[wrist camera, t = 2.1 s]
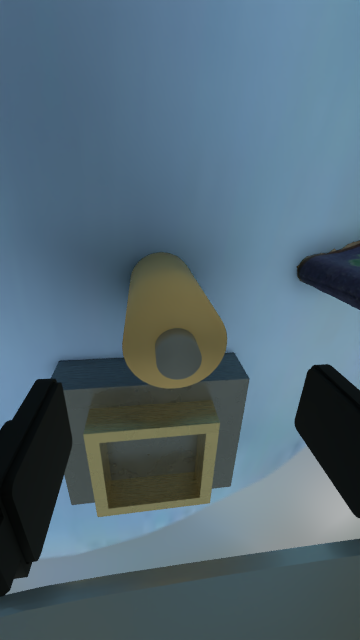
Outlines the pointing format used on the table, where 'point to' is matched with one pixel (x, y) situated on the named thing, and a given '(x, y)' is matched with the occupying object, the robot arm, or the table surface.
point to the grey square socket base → (149, 435)
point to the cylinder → (170, 325)
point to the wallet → (334, 273)
